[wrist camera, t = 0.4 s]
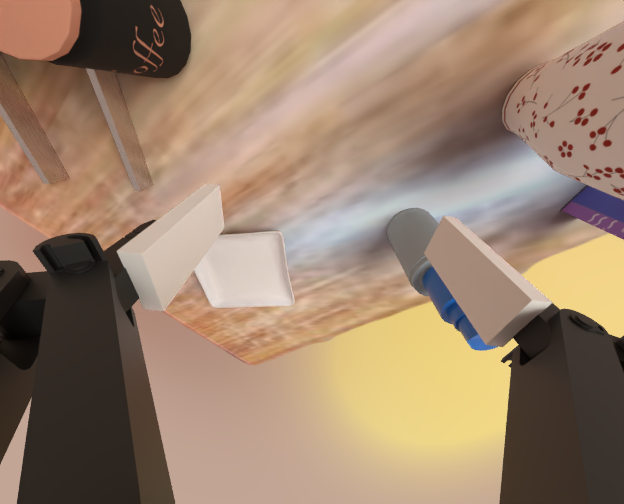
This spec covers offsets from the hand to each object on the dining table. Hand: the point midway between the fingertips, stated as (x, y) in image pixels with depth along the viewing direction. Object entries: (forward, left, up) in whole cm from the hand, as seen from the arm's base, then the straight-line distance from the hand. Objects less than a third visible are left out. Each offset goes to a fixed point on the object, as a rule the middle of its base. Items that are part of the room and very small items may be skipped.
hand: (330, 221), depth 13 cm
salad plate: (+27, -15, -28) cm, 42 cm away
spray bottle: (+14, +19, -28) cm, 36 cm away
